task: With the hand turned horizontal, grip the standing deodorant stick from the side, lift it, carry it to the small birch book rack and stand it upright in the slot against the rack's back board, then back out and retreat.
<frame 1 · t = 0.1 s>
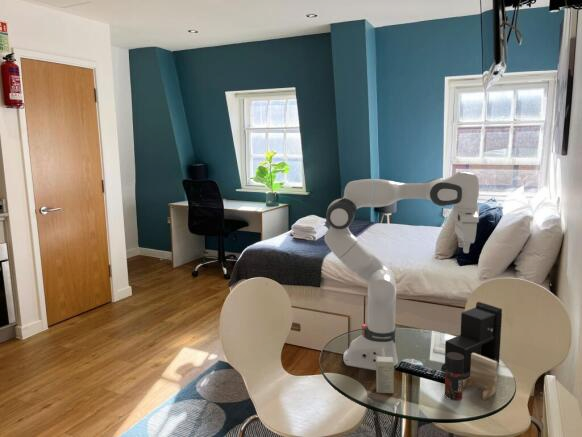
hand: (463, 249, 171), 48 cm above the table, tool pointing down, fingers open, 8 cm apart
bookend: (470, 367, 177), on the table
rack: (475, 392, 158), on the table
deodorant: (453, 396, 157), on the table
skincare box: (384, 390, 161), on the table
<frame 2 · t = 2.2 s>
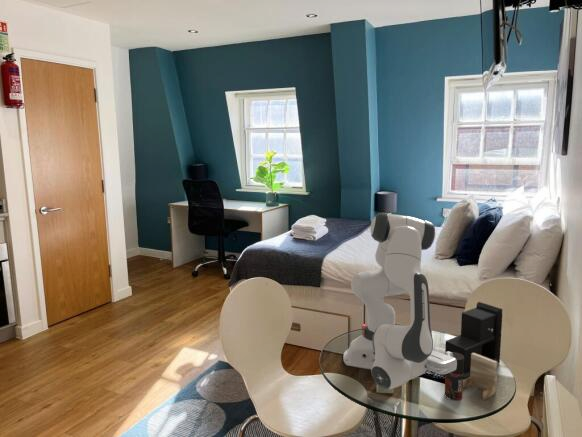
hand: (437, 349, 147), 21 cm above the table, tool horizontal, fingers open, 8 cm apart
nothing on the table moved.
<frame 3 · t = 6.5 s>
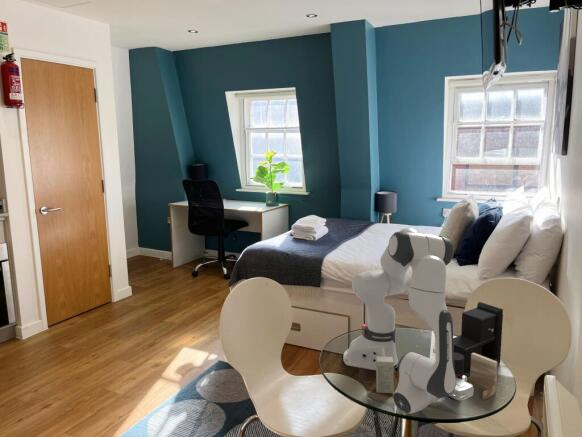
hand: (455, 373, 156), 8 cm above the table, tool horizontal, fingers closed on deodorant, 6 cm apart
deodorant: (453, 396, 157), on the table, touching gripper
everything else where it was.
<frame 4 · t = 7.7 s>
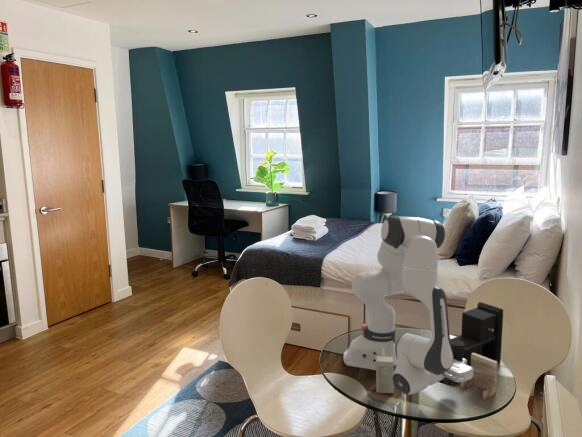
hand: (455, 356, 156), 14 cm above the table, tool horizontal, fingers closed on deodorant, 6 cm apart
deodorant: (451, 382, 156), point 5 cm above the table, touching gripper
everything else where it was.
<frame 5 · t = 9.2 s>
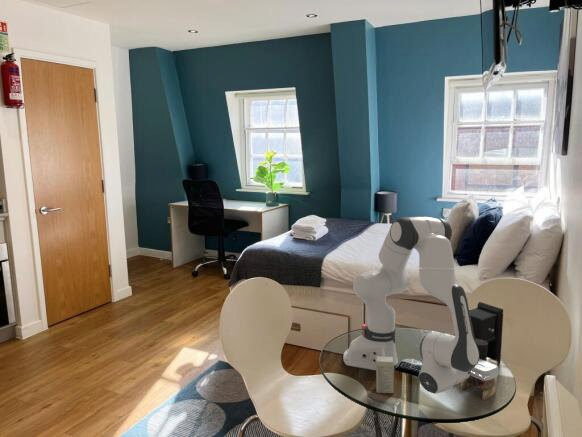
hand: (478, 356, 157), 14 cm above the table, tool horizontal, fingers closed on deodorant, 6 cm apart
deodorant: (475, 382, 157), point 4 cm above the table, touching gripper
everything else where it was.
when the fingers open (9 cm above the table, at t = 10.5 s): deodorant stays where it is, on the table.
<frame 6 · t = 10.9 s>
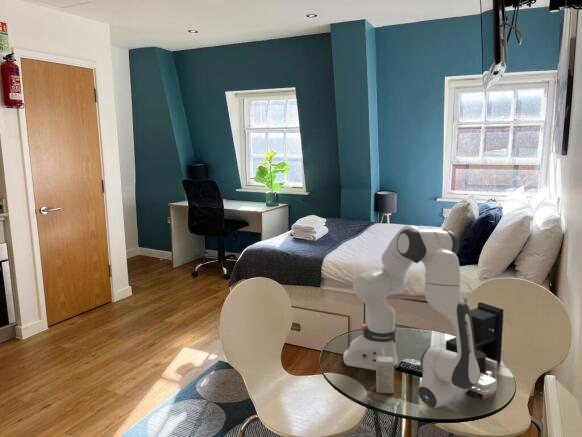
hand: (478, 368, 158), 9 cm above the table, tool horizontal, fingers open, 8 cm apart
deodorant: (474, 394, 158), on the table
everything else where it was.
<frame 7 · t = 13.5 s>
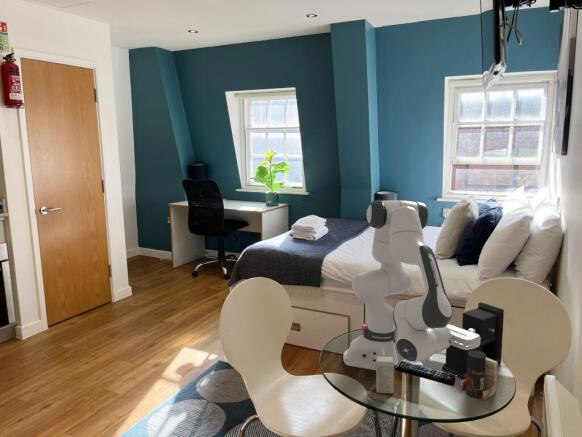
hand: (459, 326, 148), 28 cm above the table, tool horizontal, fingers open, 8 cm apart
nothing on the table moved.
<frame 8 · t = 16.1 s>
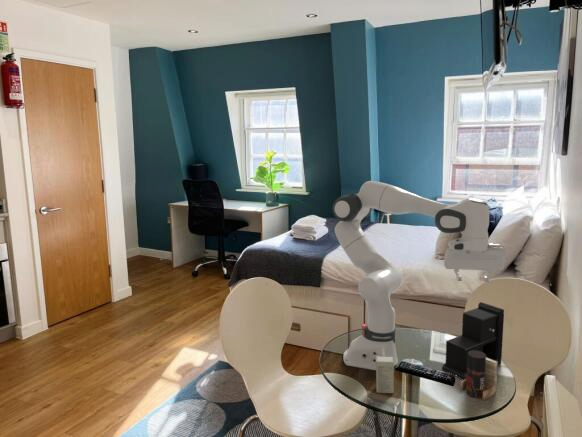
hand: (472, 281, 160), 39 cm above the table, tool pointing down, fingers open, 8 cm apart
nothing on the table moved.
at the end: deodorant 0.5 cm from the rack (horizontally); deodorant tilted 0°; the gripper is holding nothing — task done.
